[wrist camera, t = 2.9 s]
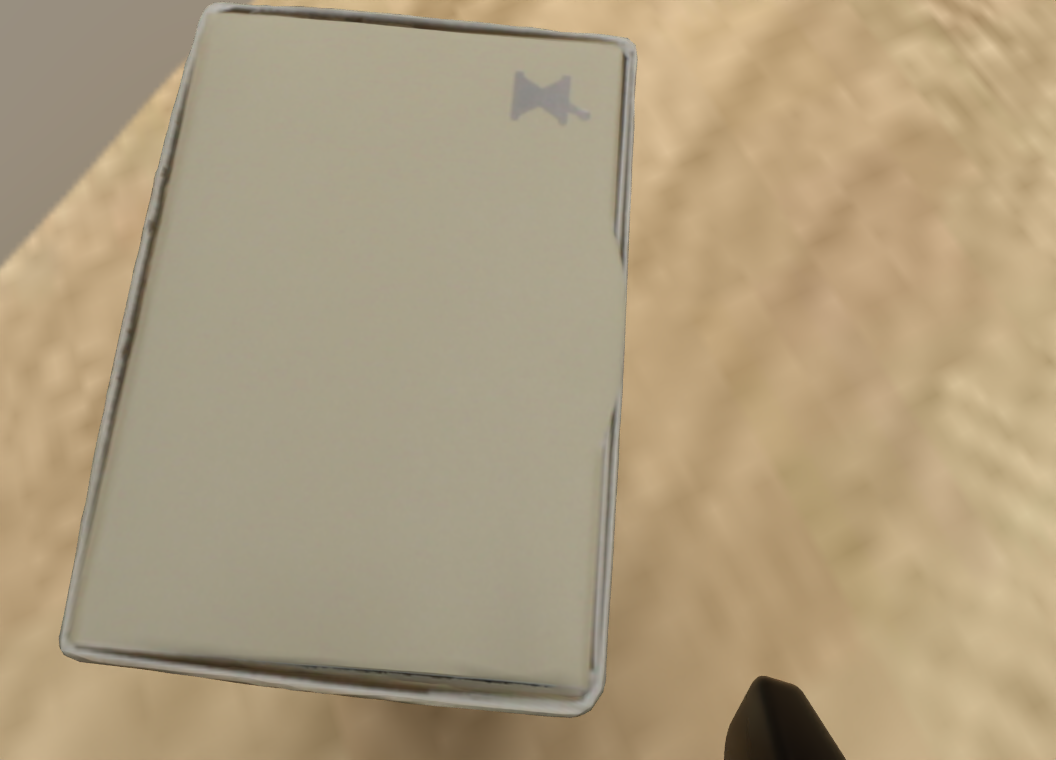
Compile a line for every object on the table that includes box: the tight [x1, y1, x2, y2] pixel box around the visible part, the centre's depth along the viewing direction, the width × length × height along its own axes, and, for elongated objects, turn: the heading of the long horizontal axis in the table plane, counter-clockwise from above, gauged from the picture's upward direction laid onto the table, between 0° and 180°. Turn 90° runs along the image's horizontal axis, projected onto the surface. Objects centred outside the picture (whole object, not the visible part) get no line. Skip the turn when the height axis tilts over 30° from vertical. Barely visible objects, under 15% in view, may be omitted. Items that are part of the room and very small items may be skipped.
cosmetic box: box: [59, 2, 638, 718], centre depth 12 cm, size 6×4×12 cm
